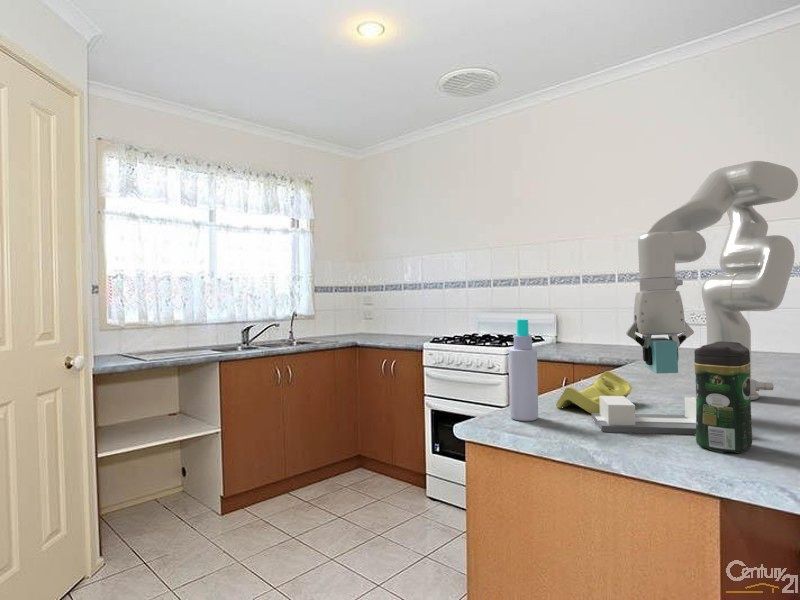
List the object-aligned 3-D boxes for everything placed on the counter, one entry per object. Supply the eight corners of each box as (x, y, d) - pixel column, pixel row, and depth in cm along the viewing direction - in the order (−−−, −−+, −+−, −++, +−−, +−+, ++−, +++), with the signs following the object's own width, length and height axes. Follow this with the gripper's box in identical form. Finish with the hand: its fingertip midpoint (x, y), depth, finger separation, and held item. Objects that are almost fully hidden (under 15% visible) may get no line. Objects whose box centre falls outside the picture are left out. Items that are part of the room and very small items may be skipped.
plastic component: (601, 407, 112) (563, 383, 118) (589, 433, 114) (552, 408, 121) (638, 387, 125) (602, 367, 131) (627, 412, 128) (592, 390, 134)
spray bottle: (544, 418, 111) (542, 319, 111) (526, 423, 108) (524, 320, 108) (522, 413, 116) (520, 318, 116) (504, 418, 113) (502, 319, 112)
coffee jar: (706, 436, 95) (705, 338, 95) (756, 445, 90) (755, 340, 89) (689, 447, 89) (687, 342, 89) (742, 457, 83) (740, 345, 83)
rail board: (716, 421, 106) (716, 396, 106) (741, 436, 95) (741, 408, 95) (591, 418, 111) (591, 394, 111) (601, 431, 100) (601, 405, 100)
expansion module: (665, 366, 121) (664, 336, 121) (678, 373, 112) (677, 340, 112) (645, 366, 122) (643, 337, 122) (656, 373, 113) (655, 341, 113)
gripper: (691, 283, 119) (694, 360, 119) (615, 287, 122) (618, 362, 122) (704, 284, 111) (707, 366, 112) (622, 288, 115) (626, 367, 115)
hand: (660, 363), depth 117 cm, fingers closed on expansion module, 4 cm apart
